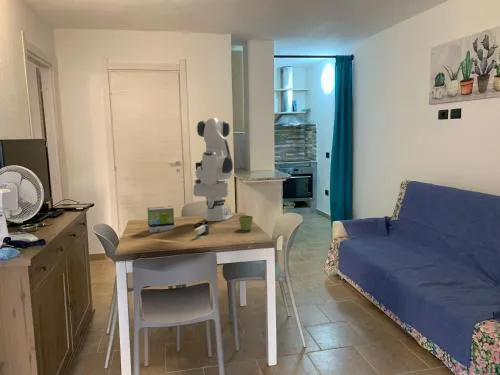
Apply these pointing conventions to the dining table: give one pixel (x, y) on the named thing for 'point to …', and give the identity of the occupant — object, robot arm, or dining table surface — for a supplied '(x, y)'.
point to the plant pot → (245, 222)
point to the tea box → (160, 218)
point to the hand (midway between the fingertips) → (210, 204)
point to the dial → (201, 237)
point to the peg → (202, 229)
